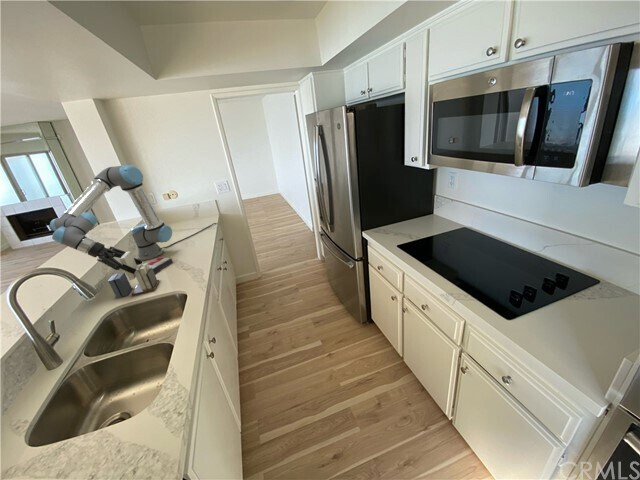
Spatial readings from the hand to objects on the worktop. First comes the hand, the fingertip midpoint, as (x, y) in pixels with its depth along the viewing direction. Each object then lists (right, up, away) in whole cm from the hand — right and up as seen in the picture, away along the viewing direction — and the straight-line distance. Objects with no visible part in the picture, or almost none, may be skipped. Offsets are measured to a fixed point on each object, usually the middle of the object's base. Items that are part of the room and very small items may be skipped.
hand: (138, 267), depth 144 cm
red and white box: (-7, -3, +28) cm, 29 cm away
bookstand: (+1, -12, +5) cm, 13 cm away
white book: (-3, -5, +1) cm, 5 cm away
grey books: (-10, -15, +3) cm, 18 cm away
